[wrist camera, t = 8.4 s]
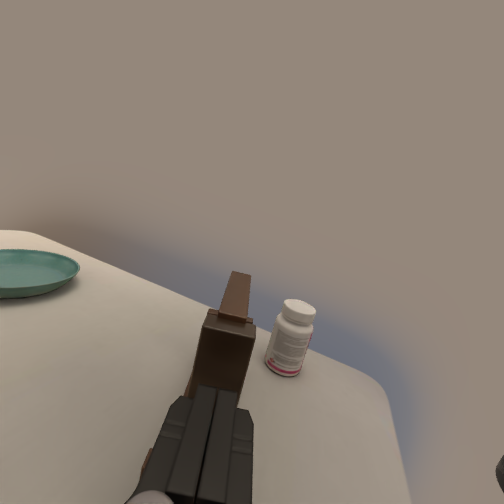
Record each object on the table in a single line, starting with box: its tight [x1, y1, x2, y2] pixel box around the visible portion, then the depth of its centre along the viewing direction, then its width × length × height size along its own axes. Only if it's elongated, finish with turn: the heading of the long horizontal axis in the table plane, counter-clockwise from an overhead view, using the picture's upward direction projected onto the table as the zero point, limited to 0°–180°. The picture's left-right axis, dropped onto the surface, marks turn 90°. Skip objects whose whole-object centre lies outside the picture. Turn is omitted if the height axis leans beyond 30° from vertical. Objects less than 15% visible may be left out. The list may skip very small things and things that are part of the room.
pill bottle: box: [265, 299, 316, 376], centre depth 32 cm, size 5×5×8 cm
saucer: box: [0, 249, 80, 298], centre depth 37 cm, size 15×15×3 cm
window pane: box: [187, 271, 256, 459], centre depth 16 cm, size 2×7×13 cm, turn 179°
